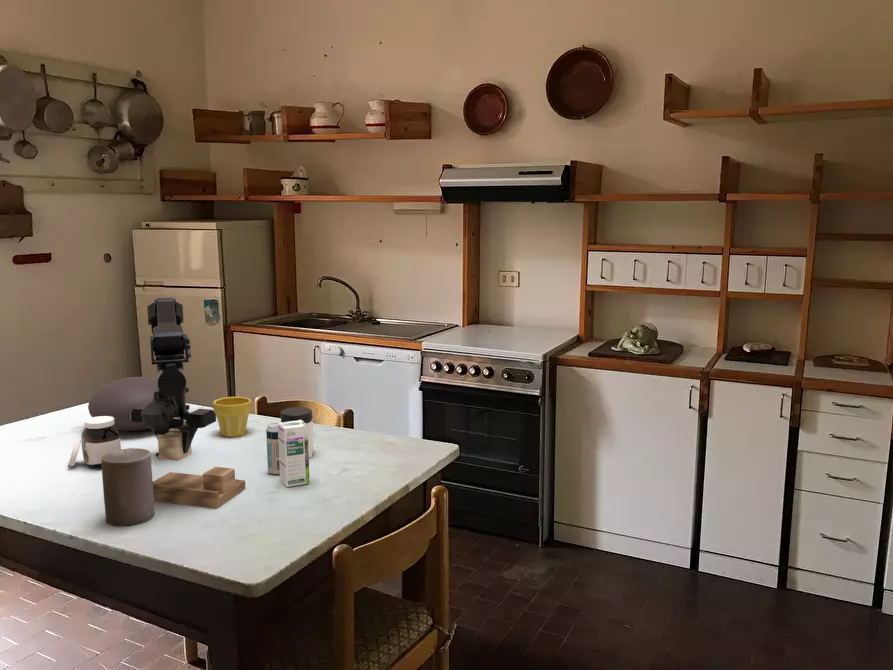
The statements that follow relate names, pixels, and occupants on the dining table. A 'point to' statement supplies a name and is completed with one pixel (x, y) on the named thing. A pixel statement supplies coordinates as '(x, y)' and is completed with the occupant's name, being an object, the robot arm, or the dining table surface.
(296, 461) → the syrup box
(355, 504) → the dining table surface
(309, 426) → the jar
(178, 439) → the flanged wooden block
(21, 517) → the dining table surface
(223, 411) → the plant pot
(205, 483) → the box
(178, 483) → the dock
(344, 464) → the dining table surface
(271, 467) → the beer can
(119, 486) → the pillar candle
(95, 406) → the flattened ellipsoid
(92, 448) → the spread jar
